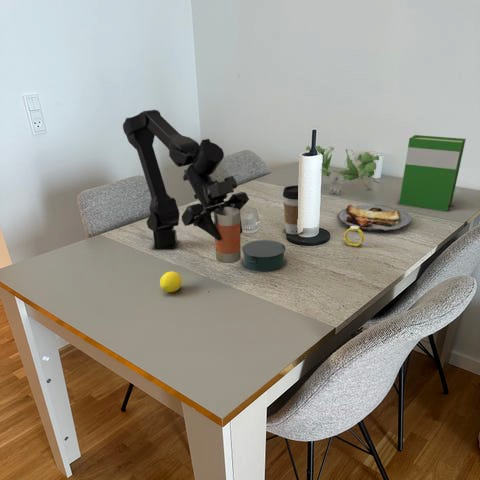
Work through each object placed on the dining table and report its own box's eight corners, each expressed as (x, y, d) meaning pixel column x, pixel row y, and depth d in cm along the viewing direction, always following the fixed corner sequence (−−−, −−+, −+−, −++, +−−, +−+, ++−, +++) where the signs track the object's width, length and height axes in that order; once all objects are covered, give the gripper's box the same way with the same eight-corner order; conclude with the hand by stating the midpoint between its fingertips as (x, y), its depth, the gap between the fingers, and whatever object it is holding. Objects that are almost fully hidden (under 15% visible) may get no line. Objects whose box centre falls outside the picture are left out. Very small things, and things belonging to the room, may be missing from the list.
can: (214, 263, 123) (212, 215, 116) (217, 252, 128) (215, 206, 121) (240, 263, 122) (239, 215, 115) (241, 253, 128) (240, 206, 121)
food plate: (330, 229, 159) (331, 219, 157) (344, 208, 177) (345, 199, 175) (407, 238, 151) (408, 227, 149) (413, 215, 169) (414, 205, 167)
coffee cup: (305, 236, 154) (308, 191, 146) (280, 235, 155) (281, 190, 148) (307, 227, 161) (310, 184, 153) (283, 226, 162) (284, 183, 155)
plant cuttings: (310, 197, 212) (288, 176, 194) (324, 162, 211) (303, 137, 193) (381, 212, 192) (364, 190, 174) (397, 173, 192) (382, 147, 173)
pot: (232, 269, 134) (231, 255, 132) (255, 248, 146) (255, 235, 144) (272, 277, 129) (273, 262, 127) (293, 255, 142) (293, 241, 139)
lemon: (172, 298, 120) (170, 280, 117) (155, 294, 123) (153, 275, 120) (188, 287, 125) (186, 269, 122) (172, 283, 128) (170, 265, 125)
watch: (363, 245, 146) (366, 227, 143) (360, 248, 144) (362, 230, 141) (345, 242, 149) (347, 224, 146) (342, 244, 147) (344, 226, 144)
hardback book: (451, 205, 177) (465, 138, 164) (447, 210, 172) (461, 142, 159) (404, 198, 185) (414, 134, 173) (399, 203, 180) (409, 138, 167)
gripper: (183, 173, 110) (214, 230, 109) (244, 160, 120) (272, 212, 119) (169, 198, 120) (197, 251, 118) (226, 184, 130) (252, 233, 128)
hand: (230, 236), depth 121 cm, fingers closed on can, 7 cm apart
